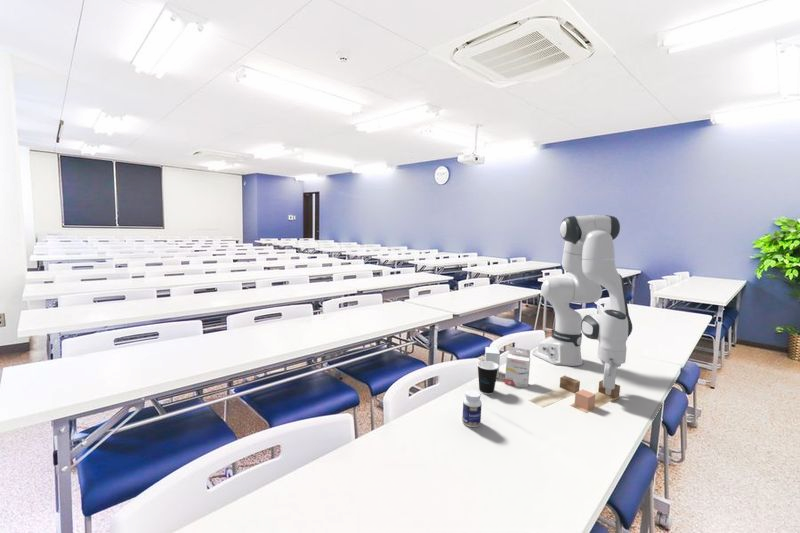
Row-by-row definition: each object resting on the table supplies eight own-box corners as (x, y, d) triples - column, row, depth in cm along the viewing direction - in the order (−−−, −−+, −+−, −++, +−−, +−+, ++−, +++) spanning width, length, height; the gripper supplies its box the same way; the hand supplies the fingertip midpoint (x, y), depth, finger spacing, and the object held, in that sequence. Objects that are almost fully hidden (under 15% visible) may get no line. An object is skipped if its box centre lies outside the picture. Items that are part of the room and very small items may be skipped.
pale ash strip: (528, 402, 128) (529, 389, 127) (564, 387, 140) (564, 375, 140) (543, 409, 123) (544, 396, 122) (578, 393, 135) (579, 381, 135)
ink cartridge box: (504, 385, 142) (506, 349, 141) (506, 380, 147) (508, 345, 145) (527, 390, 139) (529, 353, 137) (528, 385, 143) (530, 349, 142)
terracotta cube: (574, 404, 125) (575, 392, 125) (581, 401, 128) (582, 389, 127) (587, 410, 121) (588, 397, 121) (594, 406, 124) (595, 394, 123)
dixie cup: (493, 388, 140) (495, 360, 139) (500, 397, 132) (501, 369, 131) (473, 388, 140) (474, 360, 139) (478, 397, 132) (480, 368, 131)
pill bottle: (469, 429, 111) (471, 399, 110) (458, 420, 116) (459, 391, 115) (484, 425, 114) (485, 395, 113) (472, 416, 119) (474, 387, 118)
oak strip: (569, 407, 125) (570, 394, 124) (602, 391, 137) (603, 379, 137) (586, 415, 120) (587, 401, 119) (619, 398, 132) (620, 385, 132)
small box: (498, 378, 149) (500, 353, 148) (484, 377, 150) (486, 352, 149) (497, 370, 157) (498, 347, 156) (484, 369, 158) (485, 346, 157)
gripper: (621, 366, 122) (617, 405, 123) (622, 348, 139) (618, 383, 141) (600, 362, 125) (596, 400, 127) (603, 345, 142) (600, 379, 144)
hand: (608, 391), depth 134 cm, fingers closed on oak strip, 4 cm apart
